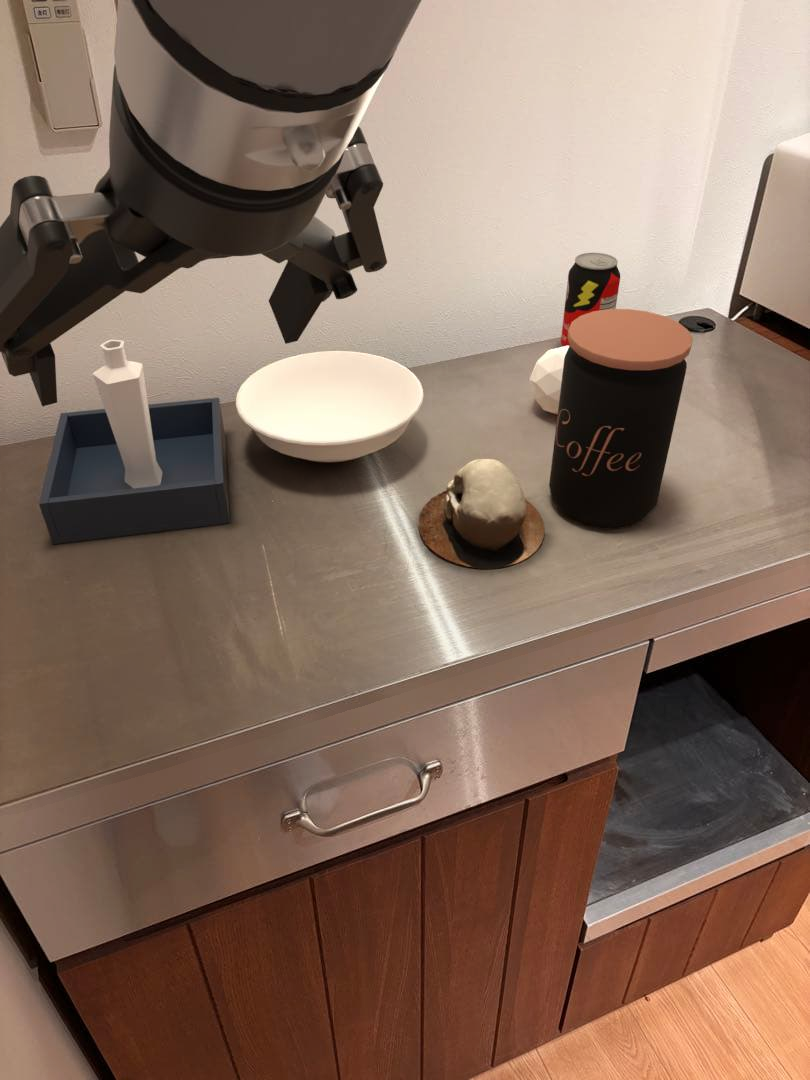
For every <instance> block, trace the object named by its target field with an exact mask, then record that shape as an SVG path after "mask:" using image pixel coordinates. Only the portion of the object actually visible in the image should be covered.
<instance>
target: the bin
mask: <svg viewBox="0 0 810 1080" xmlns="http://www.w3.org/2000/svg"><path fill="white" fill-rule="evenodd" d="M148 408H149V414H150V421H151V428H152V435H153V442H154V449H155V456H156V461H157V463H158V465H159V467H160V469H161V470H162V479H161V484H160V485H158V486H151V487H142V488H132V487H131V486H129V485H128V484H127V483H126V482H125V466H124V463H123V460H122V457H121V454H120V451H119V449H118V446H117V443H116V440H115V437H114V434H113V431H112V428H111V425H110V422H109V419H108V417H107V414H106V411H105V408H99V409H98V408H97V409H88V410H80V411H79V410H78V411H70V412H61V413H60V415H59V417H58V424H57V427H56V432H55V435H54V439H53V443H52V448H51V452H50V456H49V460H48V464H47V468H46V473H45V477H44V481H43V486H42V489H41V493H40V498H39V501H38V506H39V508H40V511H41V514H42V518H43V520H44V523H45V526H46V529H47V532H48V535H49V538H50V541H51V543H52V545H59V544H67V543H76V542H85V541H93V540H101V539H110V538H119V537H127V536H133V535H134V536H135V535H143V534H144V535H145V534H153V533H159V532H169V531H175V530H176V531H177V530H184V529H192V528H194V529H195V528H201V527H202V528H203V527H210V526H217V525H226V524H227V525H228V524H231V514H230V513H231V512H230V498H229V497H230V496H229V479H228V459H227V441H226V440H227V439H226V430H225V425H224V419H223V414H222V413H223V412H222V406H221V401H220V397H212V398H211V397H210V398H202V399H201V398H200V399H191V400H190V399H189V400H180V401H172V402H161V403H160V402H159V403H150V404H149V403H148Z"/></svg>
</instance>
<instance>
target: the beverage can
mask: <svg viewBox="0 0 810 1080" xmlns="http://www.w3.org/2000/svg"><path fill="white" fill-rule="evenodd" d="M618 262H619V261H618V259H617V258H616V257H614V256H613V255H610V254H608V253H603V252H584V253H581V254H578V255H577V256H576V257H575V258H574V264H573V265H572V266H571V267H570V269H569V270H568V274H567V275H568V276H567V281H566V282H567V283H566V292H565V301H564V309H563V317H562V318H563V319H562V328H561V335H560V345H561V347H564V346H570V344H569V341H568V329H569V327H570V325H571V323H572V322H573V321H574V320H575V319H577V318H578V317H580V316H581V315H584V314H587V313H590V312H593V311H600V310H607V309H617V302H618V296H619V295H618V294H619V290H620V289H619V288H620V283H621V273H620V270H619V267H618Z"/></svg>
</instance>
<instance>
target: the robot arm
mask: <svg viewBox="0 0 810 1080" xmlns="http://www.w3.org/2000/svg"><path fill="white" fill-rule="evenodd" d="M421 2H422V0H117V9H116V10H117V11H116V24H115V37H114V50H113V57H114V66H113V76H112V89H111V101H110V102H111V105H110V119H109V135H108V136H109V137H108V152H109V155H108V156H109V167H108V169H107V170H106V172H105V174H104V175H102V177H101V178H100V179H99V180H98V182H97V183H96V185H95V187H94V191H93V192H88V193H78V194H67V195H54V194H53V191H52V189H51V185H50V184H49V181H48V179H47V178H46V177H44V176H40V175H28V176H24V177H22V178H19V179H17V180H16V181H15V182H14V183H13V185H12V189H11V197H10V198H11V199H10V207H9V208H10V211H9V215H7V217H6V218H5V219H4V221H3V222H2V224H1V225H0V354H1V356H2V359H3V362H4V364H5V367H6V369H7V372H8V374H9V375H10V376H12V377H19V376H22V375H23V376H24V375H26V374H27V375H28V374H29V377H30V379H31V381H32V384H33V386H34V389H35V391H36V394H37V397H38V399H39V402H40V404H41V407H46V406H50V405H53V404H57V403H58V391H57V390H58V389H57V369H56V367H57V366H56V354H55V351H54V350H53V347H52V343H53V342H54V341H55V340H58V339H59V338H60V337H61V336H63V335H64V334H66V333H67V332H69V331H70V330H72V329H73V328H74V327H75V326H78V325H79V324H81V323H82V322H83V321H84V320H86V319H87V318H88V317H90V316H92V315H93V314H94V313H96V312H97V311H99V310H100V309H102V308H103V307H105V306H106V305H108V304H109V303H110V302H111V301H113V300H114V299H116V298H117V297H119V296H120V295H122V294H123V293H125V292H130V293H136V294H144V293H145V292H147V291H149V290H150V289H151V288H153V287H154V286H156V285H158V284H159V283H161V282H162V281H163V280H165V279H166V278H168V277H169V276H171V275H172V274H173V273H174V272H177V271H178V270H179V269H181V268H183V269H191V268H193V267H194V266H197V264H199V263H201V262H204V261H206V260H213V259H225V258H226V259H227V258H232V257H249V256H257V255H262V256H264V257H266V258H268V259H269V260H271V261H273V262H275V263H276V264H281V263H283V262H285V261H287V262H286V264H285V266H284V268H283V270H282V272H281V274H280V276H279V278H278V281H277V282H276V284H275V286H274V288H273V290H272V293H271V295H270V297H269V298H268V304H269V305H270V308H271V311H272V314H273V316H274V318H275V321H276V323H277V326H278V329H279V332H280V333H281V336H282V339H283V340H284V344H285V345H287V344H291V343H294V342H298V341H299V339H300V338H301V336H302V334H303V333H304V332H305V329H306V328H307V326H308V325H309V324H310V322H311V320H312V319H313V317H314V315H315V314H316V312H317V310H318V309H319V307H320V306H321V304H322V303H323V302H325V301H326V300H328V299H329V298H330V297H331V296H332V295H334V297H335V299H336V300H343V299H347V298H350V297H351V296H353V295H355V294H356V293H357V292H358V287H357V284H356V282H355V280H354V276H353V274H352V272H351V271H352V270H354V269H357V268H360V267H363V269H364V271H365V272H366V273H375V272H378V271H380V270H382V269H384V268H385V266H386V265H387V264H388V260H387V255H386V252H385V247H384V243H383V241H382V235H381V231H380V228H379V223H378V219H377V216H376V211H375V205H376V203H377V201H378V199H379V197H380V195H381V192H382V189H383V187H384V182H383V180H382V177H381V174H380V172H379V170H378V169H379V168H378V167H377V164H376V161H375V160H374V157H373V155H372V152H371V150H370V148H369V144H368V142H367V140H366V137H365V135H364V133H363V129H362V128H361V127H360V126H359V125H360V123H361V121H362V119H363V117H364V115H365V113H366V111H367V109H368V106H369V105H370V104H371V101H372V99H373V97H374V95H375V93H376V91H377V88H378V87H379V84H380V83H381V80H382V79H383V76H384V75H385V72H386V70H387V69H388V67H389V65H390V63H391V61H392V60H393V57H394V55H395V53H396V51H397V49H398V46H399V45H400V42H401V41H402V38H403V37H404V35H405V34H406V31H407V29H408V28H409V25H410V23H411V21H412V19H413V18H414V15H415V14H416V12H417V10H418V9H419V6H420V4H421ZM325 197H327V198H328V199H335V202H336V203H337V206H338V208H339V210H340V211H341V213H342V215H343V218H344V221H345V223H346V227H347V229H348V231H347V232H345V233H342V234H339V235H336V232H335V230H334V229H333V228H331V227H330V226H329V225H327V224H325V222H323V220H320V219H319V218H318V217H317V216H316V214H317V212H318V210H319V208H320V206H321V204H322V202H323V200H324V198H325ZM137 254H138V255H141V256H142V257H144V258H143V259H142V260H140V261H139V259H138V257H137Z"/></svg>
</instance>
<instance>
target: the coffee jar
mask: <svg viewBox="0 0 810 1080" xmlns="http://www.w3.org/2000/svg"><path fill="white" fill-rule="evenodd" d="M568 341H569V344H570V346H569V348H568V350H567V353H566V355H565V358H564V366H563V374H562V382H561V391H560V399H559V407H558V415H557V417H556V425H555V432H554V441H553V450H552V457H551V466H550V475H549V483H548V487H549V492H550V496H551V498H552V500H553V501H554V503H555V505H556V506H557V508H558V509H559V510H560V512H561V513H562V514H563V515H565V516H566V517H568V518H569V519H570V520H572V521H574V522H576V523H579V524H581V525H583V526H585V527H591V528H596V529H603V530H618V529H622V528H628V527H631V526H633V525H636V524H637V523H639V522H642V521H643V520H644V519H645V518H646V517H648V516H649V515H650V514H651V513H652V512H653V510H654V509H655V508H656V507H657V506H658V501H659V500H658V499H659V497H660V491H661V488H662V482H663V477H664V473H665V468H666V464H667V460H668V455H669V450H670V447H671V446H670V445H671V442H672V436H673V432H674V428H675V424H676V420H677V419H676V418H677V415H678V410H679V406H680V400H681V395H682V391H683V387H684V382H685V377H686V372H687V367H688V366H687V365H688V363H687V361H686V358H687V357H688V356H689V355H690V353H691V349H692V345H693V336H692V335H691V333H690V331H689V329H688V328H686V327H685V326H683V324H682V323H679V322H678V321H676V320H675V319H672V318H669V317H668V316H665V315H662V314H658V313H655V312H650V311H648V310H647V311H646V310H639V309H632V308H631V309H630V308H616V309H607V310H600V311H593V312H590V313H587V314H584V315H581V316H580V317H578V318H577V319H575V320H574V321H573V322H572V323H571V325H570V327H569V329H568Z"/></svg>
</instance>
